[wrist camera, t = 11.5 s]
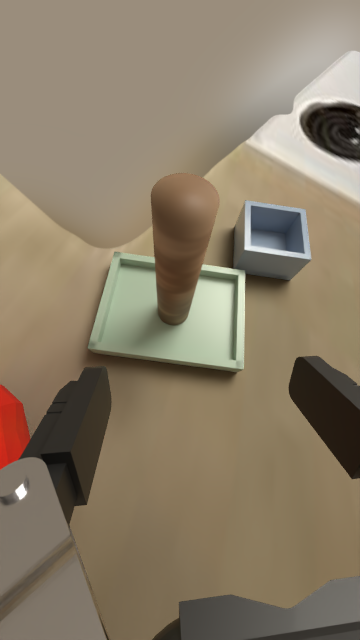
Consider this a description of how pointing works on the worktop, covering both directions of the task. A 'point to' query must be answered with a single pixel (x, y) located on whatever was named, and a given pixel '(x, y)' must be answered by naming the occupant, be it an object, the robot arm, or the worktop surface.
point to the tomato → (11, 428)
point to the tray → (171, 340)
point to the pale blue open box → (271, 240)
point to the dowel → (180, 239)
